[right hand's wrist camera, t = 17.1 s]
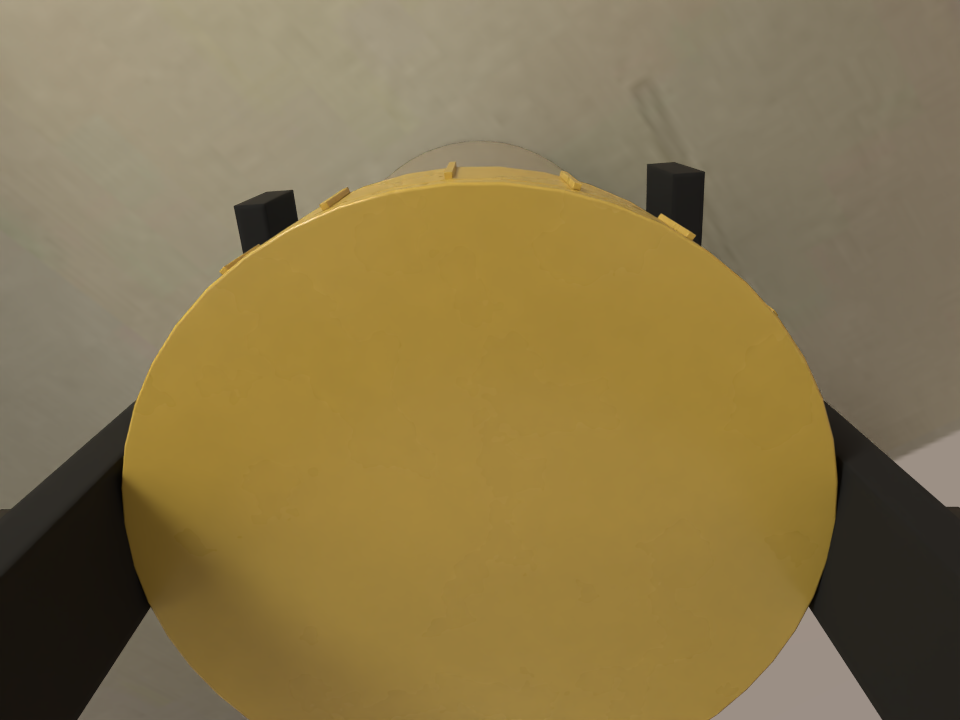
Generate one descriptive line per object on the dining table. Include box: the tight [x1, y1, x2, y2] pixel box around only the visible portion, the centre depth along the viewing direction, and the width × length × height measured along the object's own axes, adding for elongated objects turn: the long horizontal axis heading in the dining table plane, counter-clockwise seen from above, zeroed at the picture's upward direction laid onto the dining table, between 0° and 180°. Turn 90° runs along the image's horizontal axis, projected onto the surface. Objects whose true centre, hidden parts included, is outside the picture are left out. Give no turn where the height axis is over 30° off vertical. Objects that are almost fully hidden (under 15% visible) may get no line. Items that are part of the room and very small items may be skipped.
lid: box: [122, 162, 838, 720], centre depth 11 cm, size 11×11×2 cm
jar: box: [384, 141, 564, 181], centre depth 18 cm, size 10×10×16 cm
